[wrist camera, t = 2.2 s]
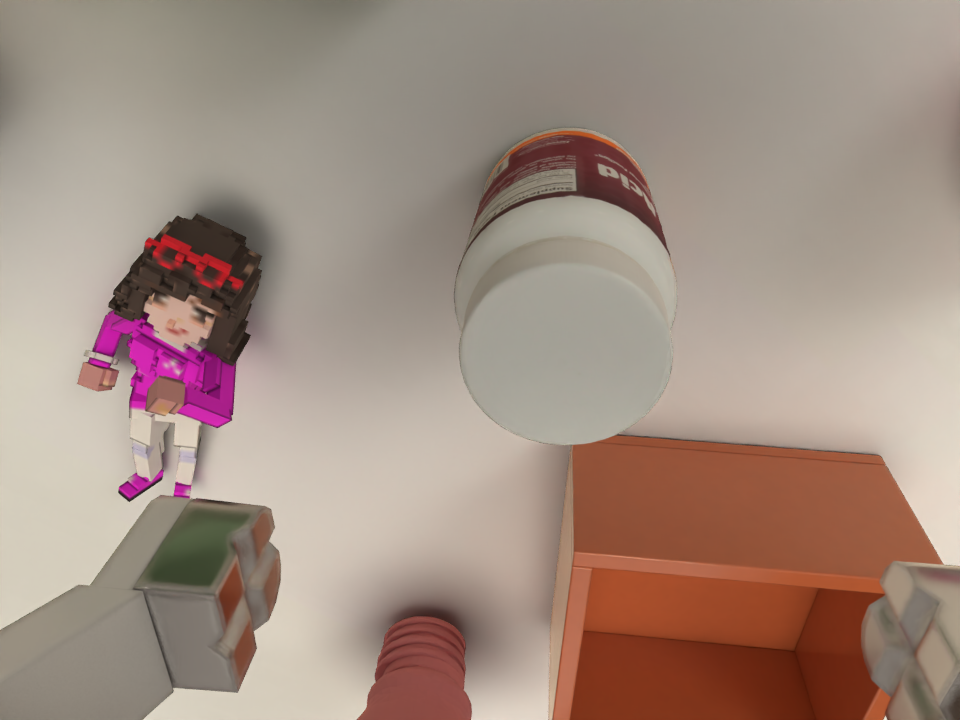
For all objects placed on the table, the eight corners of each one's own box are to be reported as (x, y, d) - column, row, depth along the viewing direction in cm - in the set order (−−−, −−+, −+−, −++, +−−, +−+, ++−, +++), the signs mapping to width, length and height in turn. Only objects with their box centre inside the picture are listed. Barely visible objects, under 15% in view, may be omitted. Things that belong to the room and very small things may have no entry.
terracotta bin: (572, 430, 25) (573, 551, 20) (881, 454, 24) (957, 586, 19) (550, 626, 30) (547, 757, 26) (802, 650, 29) (846, 789, 25)
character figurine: (250, 476, 29) (309, 228, 21) (187, 586, 25) (233, 328, 17) (110, 424, 28) (120, 151, 21) (23, 527, 24) (-3, 235, 17)
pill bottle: (676, 241, 21) (734, 412, 14) (528, 307, 22) (512, 491, 15) (607, 88, 19) (633, 197, 12) (450, 172, 20) (390, 313, 13)
